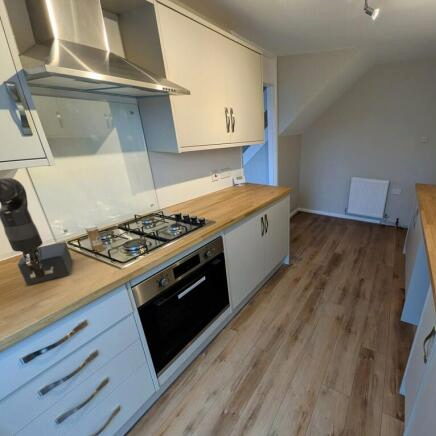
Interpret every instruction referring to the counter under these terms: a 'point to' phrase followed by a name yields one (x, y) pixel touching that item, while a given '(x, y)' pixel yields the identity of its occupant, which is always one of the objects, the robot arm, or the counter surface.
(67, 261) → the cabinet
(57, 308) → the counter surface
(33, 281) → the drawer
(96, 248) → the sprinkles bottle
